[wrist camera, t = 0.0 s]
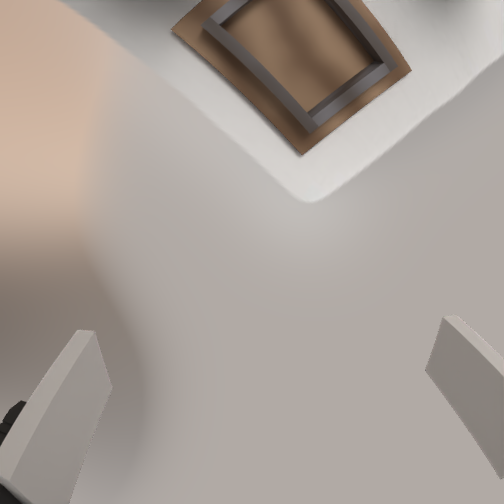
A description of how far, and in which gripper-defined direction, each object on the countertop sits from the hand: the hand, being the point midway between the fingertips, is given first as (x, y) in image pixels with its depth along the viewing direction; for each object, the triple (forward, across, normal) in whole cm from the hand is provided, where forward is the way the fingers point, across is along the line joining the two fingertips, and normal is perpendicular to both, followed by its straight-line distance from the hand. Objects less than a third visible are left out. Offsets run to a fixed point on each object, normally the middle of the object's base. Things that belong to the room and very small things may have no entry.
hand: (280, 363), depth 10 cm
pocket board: (+23, +5, +19) cm, 30 cm away
